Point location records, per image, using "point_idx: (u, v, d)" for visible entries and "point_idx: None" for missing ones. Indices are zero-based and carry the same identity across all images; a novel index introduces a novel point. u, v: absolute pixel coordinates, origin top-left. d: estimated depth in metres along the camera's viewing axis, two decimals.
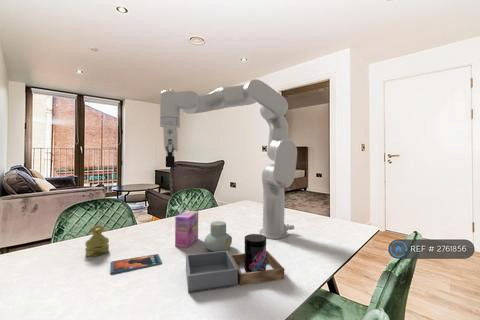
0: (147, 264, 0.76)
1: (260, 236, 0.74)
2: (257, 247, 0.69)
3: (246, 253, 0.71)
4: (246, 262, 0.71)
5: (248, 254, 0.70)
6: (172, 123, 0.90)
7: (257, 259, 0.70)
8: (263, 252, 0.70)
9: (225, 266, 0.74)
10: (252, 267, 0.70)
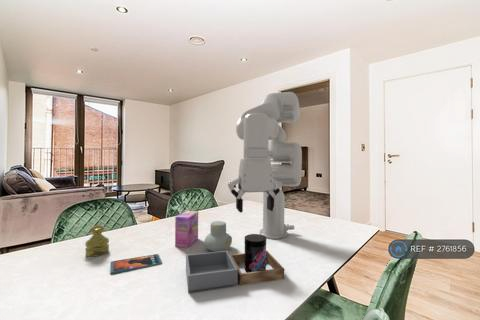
0: (147, 264, 0.76)
1: (260, 236, 0.74)
2: (257, 247, 0.69)
3: (246, 253, 0.71)
4: (246, 262, 0.71)
5: (248, 254, 0.70)
6: None
7: (257, 259, 0.70)
8: (263, 252, 0.70)
9: (225, 266, 0.74)
10: (252, 267, 0.70)
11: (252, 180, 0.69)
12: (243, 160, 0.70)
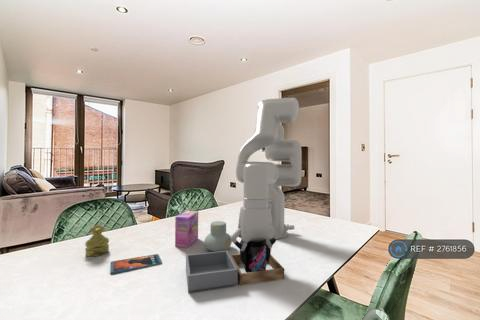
0: (147, 264, 0.76)
1: None
2: (257, 247, 0.69)
3: (246, 253, 0.71)
4: (246, 262, 0.71)
5: (248, 254, 0.70)
6: None
7: (257, 259, 0.70)
8: (263, 252, 0.70)
9: (225, 266, 0.74)
10: (252, 267, 0.70)
11: (252, 231, 0.70)
12: (243, 210, 0.70)
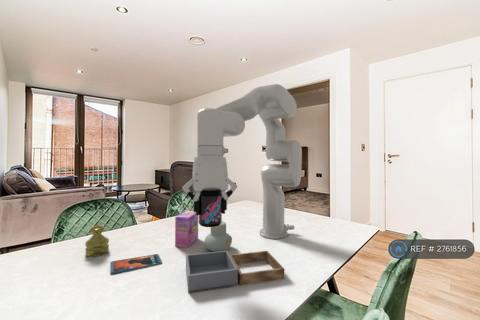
0: (147, 264, 0.76)
1: None
2: (210, 196, 0.65)
3: (199, 204, 0.67)
4: (199, 213, 0.67)
5: (201, 204, 0.66)
6: None
7: (210, 209, 0.65)
8: (217, 202, 0.66)
9: (225, 266, 0.74)
10: (204, 218, 0.66)
11: (205, 179, 0.66)
12: (195, 158, 0.66)
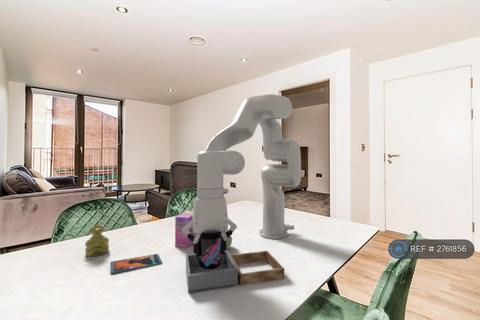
0: (147, 264, 0.76)
1: None
2: (210, 239, 0.66)
3: (199, 245, 0.67)
4: (199, 255, 0.67)
5: (201, 247, 0.66)
6: None
7: (209, 251, 0.66)
8: (217, 244, 0.67)
9: (225, 266, 0.74)
10: (204, 260, 0.66)
11: (205, 222, 0.66)
12: (195, 200, 0.66)
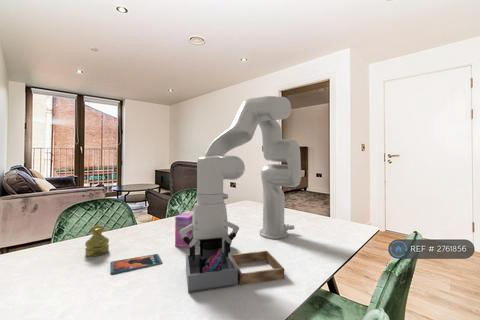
0: (147, 264, 0.76)
1: (217, 238, 0.70)
2: (210, 250, 0.66)
3: (200, 256, 0.67)
4: (200, 265, 0.68)
5: (201, 257, 0.67)
6: None
7: (210, 262, 0.66)
8: (217, 255, 0.67)
9: (225, 266, 0.74)
10: (205, 270, 0.66)
11: (204, 227, 0.66)
12: (195, 206, 0.66)
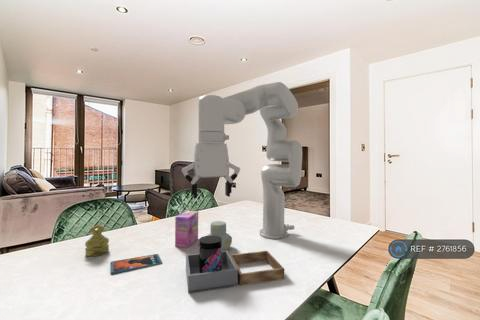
0: (147, 264, 0.76)
1: (216, 238, 0.70)
2: (209, 249, 0.66)
3: (199, 255, 0.68)
4: (199, 265, 0.68)
5: (201, 257, 0.67)
6: None
7: (209, 261, 0.66)
8: (217, 254, 0.67)
9: (225, 266, 0.74)
10: (204, 270, 0.66)
11: (206, 165, 0.67)
12: (197, 144, 0.67)
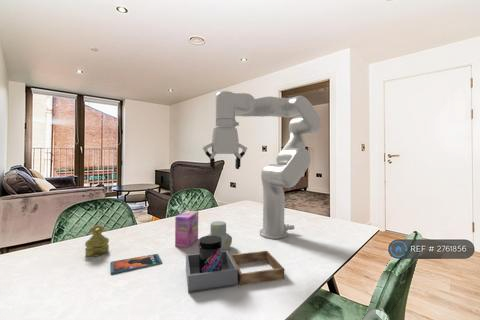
0: (147, 264, 0.76)
1: (216, 238, 0.70)
2: (209, 250, 0.66)
3: (199, 255, 0.68)
4: (199, 265, 0.68)
5: (201, 257, 0.67)
6: None
7: (209, 262, 0.66)
8: (216, 255, 0.67)
9: (225, 266, 0.74)
10: (204, 270, 0.66)
11: (222, 144, 0.89)
12: (215, 128, 0.89)
